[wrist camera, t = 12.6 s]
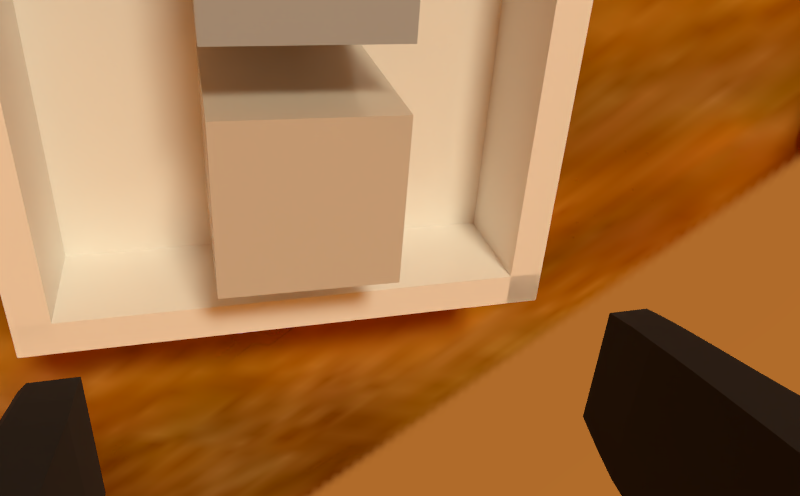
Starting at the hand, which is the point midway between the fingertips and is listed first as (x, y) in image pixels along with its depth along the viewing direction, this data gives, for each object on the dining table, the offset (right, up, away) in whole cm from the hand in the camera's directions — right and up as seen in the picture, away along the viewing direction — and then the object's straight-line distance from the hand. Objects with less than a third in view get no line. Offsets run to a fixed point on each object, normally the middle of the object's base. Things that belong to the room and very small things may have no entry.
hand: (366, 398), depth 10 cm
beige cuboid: (-2, +5, +7) cm, 9 cm away
